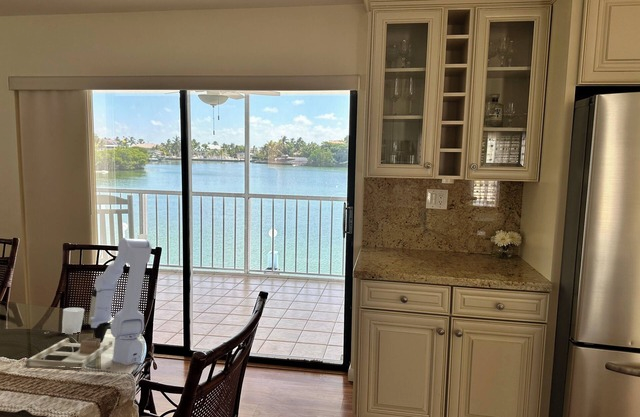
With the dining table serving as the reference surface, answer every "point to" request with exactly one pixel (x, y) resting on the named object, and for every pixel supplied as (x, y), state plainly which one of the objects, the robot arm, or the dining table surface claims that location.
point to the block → (89, 345)
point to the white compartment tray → (72, 359)
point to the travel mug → (93, 305)
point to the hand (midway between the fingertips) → (99, 342)
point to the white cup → (72, 320)
